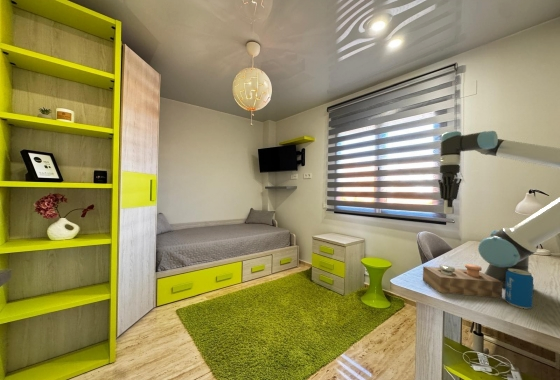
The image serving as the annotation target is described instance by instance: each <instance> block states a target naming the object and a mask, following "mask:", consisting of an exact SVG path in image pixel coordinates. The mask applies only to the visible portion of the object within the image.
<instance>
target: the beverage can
mask: <svg viewBox="0 0 560 380" xmlns="http://www.w3.org/2000/svg"><path fill="white" fill-rule="evenodd" d="M533 284H534V276H533V275H532V272H530V271H529V272H527V271H523V270H518V269H508V271H507V272H506V288H504V289H505V291H504V294H505V295H504V300H505V301H506V302H507V304H509V305H510V306H513V307H516V308H520V309H523V308H524V309H525V310H528V309H531V308H533V296H534V295H533V294H534V293H533V292H534V291H533Z"/></svg>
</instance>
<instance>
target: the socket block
mask: <svg viewBox="0 0 560 380" xmlns="http://www.w3.org/2000/svg"><path fill="white" fill-rule="evenodd" d="M422 266H423V265H422ZM484 273H485V272H481V271H479V277H471V276H469V275H467V269H463V268H461V269H460V268H455V272H453V275H445V274H443V273H441V269H440V268H439V267H435V266H423V267H422V281H424V282H425V283H427V284H428V285H429V286H431V288H434V290H436V291H438V292H439V293H442V294H454V295H465V296H477V297H486V298H487V297H488V298H490V297H491V298H499V299H500V298H503V287H502V284H503V282H501V281H499V280H497V279H495V278H493V277H490V276H488V275H486V274H484Z"/></svg>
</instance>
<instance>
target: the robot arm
mask: <svg viewBox="0 0 560 380" xmlns="http://www.w3.org/2000/svg"><path fill="white" fill-rule="evenodd" d="M440 140H441V141H440V158H439V160H440V161H439V162H440V163H439V164H440V166H439V174H442V175H441V179H438V180H437V182H438V184H439V192H440V193H439V194H440V195H439V196H440V199H442V200H443V214H444V215H452V214H453V204H454V200H457V198H458V194H459V189H460V185H461V183H462V181H463V180H462V178H459V177H458V174H459V173H460V172H461V165H460V164H461V152H468V151H469V152H471V151H472V152H473V151H476V152H478V153H480V154H482V155H486V156H494V157H500V158H503V159H510V160H515V161H518V162H519V161H520V162H522V163H523V162H524V163H528V164H533V165H538V166H543V167H548V168H554V169H558V170H560V147H553V146H547V145H539V144H534V143H527V142H522V141H515V140H508V139H501V138H499V136H498V134H497V132H496V131H494V130H489V131H488V130H487V131H486V130H485V131H480V132H474V133H468V134H462V132H461V131H456V130H454V131H448V132H444V133H443V134H442V135H441V139H440ZM558 234H560V196H559V197H557V198H556V199H555V200H552V201H551V202H549V203H548V204H547V205H545V206H544V207H542V208H541V209H539V210H538V211H536V212H534V213H533V214H532V215H531V214H530V215H529V216H528V217H527V218H525V219H524V220H522V221H521V222H519V223H518V224H517V223H516V225H514V226H513V227H503V228H501V229H499V230H495V229H494V230H492V231H491V233H490V236H487V237H486V238H483V239H482V240H481V241H480V243H479V245H478V254H479V255H480V257H481V258H482V259H483V260H484V261H485V262H486V263H488V266H487V268H486V271H485V272H483V273H484V274H486V275H488V276H490V277H493V278H495V279H497V280H499V281H501V282H503V284H502V288H504V289H505V288H506V272H507V271H508V269H518V270H523V271H527V272H529V273H530V271H529V261H530V260H529V258H530V257H531V256H533V255H535V253H537V252H538V251H537V250H538V249H537V246H540V245H541V244H543V243H544V242H547V241H548V240H550V239H552V238H554V237H555V236H557V235H558ZM534 291H535V284H534V283H533V292H534Z"/></svg>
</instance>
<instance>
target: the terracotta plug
mask: <svg viewBox="0 0 560 380" xmlns="http://www.w3.org/2000/svg"><path fill="white" fill-rule="evenodd" d="M464 267H465V268H466V270H467V275H469V276H471V277H479V272H481V271H482V266H479V265H476V264H471V263H465V264H464Z"/></svg>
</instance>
